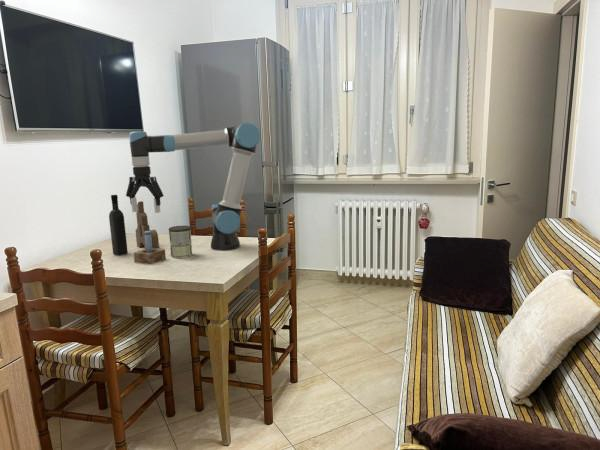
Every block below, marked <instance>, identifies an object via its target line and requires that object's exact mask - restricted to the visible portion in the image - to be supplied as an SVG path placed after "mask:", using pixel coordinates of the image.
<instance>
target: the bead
mask: <svg viewBox="0 0 600 450" xmlns="http://www.w3.org/2000/svg"><path fill="white" fill-rule="evenodd" d="M166 257H167V256H166V249H163V248H157V249H155V248H153V252H151V253H147V252H146V249H145V248H144V249H141V250H138V251H135V252H133V260H134V261H133V262H134V263H137V264H138V263H140V264H147V265H148V264H149V265H152V264H155V263H158V262H160V261H162V260H165V259H167V258H166Z"/></svg>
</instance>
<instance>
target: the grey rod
mask: <svg viewBox="0 0 600 450" xmlns="http://www.w3.org/2000/svg"><path fill="white" fill-rule="evenodd" d="M144 235H145V246H146V252H147V253H151V252H153V248H152V237H151V231H145V232H144Z"/></svg>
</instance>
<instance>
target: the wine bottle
mask: <svg viewBox="0 0 600 450" xmlns="http://www.w3.org/2000/svg"><path fill="white" fill-rule="evenodd" d="M110 198H111V207H112V209H111V210H110V212H109V214H108V220H109V229H110V239H111V247H112V255H116V256H121V255H122V254H123V255H125V254H126V253H127V254H128V253H129V252H128V251H129V250H128V242H127V234H126V233H127V232H126V225H125V224H126V223H125V214H124V213H123V211H122V210H120V208H119V201H118V200H119V199H118V198H119V197H118V194H111V195H110ZM127 254H126V255H127Z"/></svg>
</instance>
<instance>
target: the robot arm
mask: <svg viewBox="0 0 600 450" xmlns="http://www.w3.org/2000/svg"><path fill="white" fill-rule="evenodd" d="M260 140H261V132H260V128H258V126H256V124H254V123H252V122H247V121H246V122H241V123H239V124H237V125H234V126H228V127H225V128H224V129H221V130H218V129H217V130H209V131H207V130H206V131H200V132H199V131H198V132H190V133H189V132H188V133H180V134H177V133H176V134H165V135H161V134H160V135H148V133H147V132H146V131H130V133H129V146H130V155H131V165H132V174H133V176H129V178H128V179H129V181H128V185H127V190H126V193H125V196H126V197H128V198H129V200H130V205H131V212H132V213H137V212H136V211H138V208H137V204H138V200H137V197H136V195H137V194H138V192H139V190H140V188H141V187H142V188H147V190H148V191H149V192H150V193H151V195H152V196H153V204H154V205H153V207H154V213H155V214H158V213H161V199H162V198H163V197H164V193H163V191H162V189H161V187H160V184H159V183H158V180H157V177H156V176H151V173H152V172H151V166H150V163H151V162H150V154H149V153H170V152H175V151H179V150H180V151H182V150H191V149H201V148H211V147H220V146H221V147H222V146H226V147H228V148H230V147H231V150H232V157H231V162H230V166H229V170H228V175H227V180H226V183H225V187H224V191H223V197H222V200H221V201H219V202H218V204H215V203H214V204H212V205H211V216H212V230H213V231H212V232H213V233H212V237H211V241H210V248H211V249H212V250H216V251H228V250H234V249H238V248H240V246H241V245H240V244H241V241H240V239H239V236H238V234H237V232H236V231H237V230H238V229H239V227H240V225H241V213H242V210H243V208H242V205H241V200H242V197H243V192H244V187H245V183H246V181H247V180H246V179H247V175H248V171H249V166H250V164H251V163H250V162H251V158H252V156H254V155H255V154H256V150H257V146H258V144H259V143H260Z"/></svg>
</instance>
